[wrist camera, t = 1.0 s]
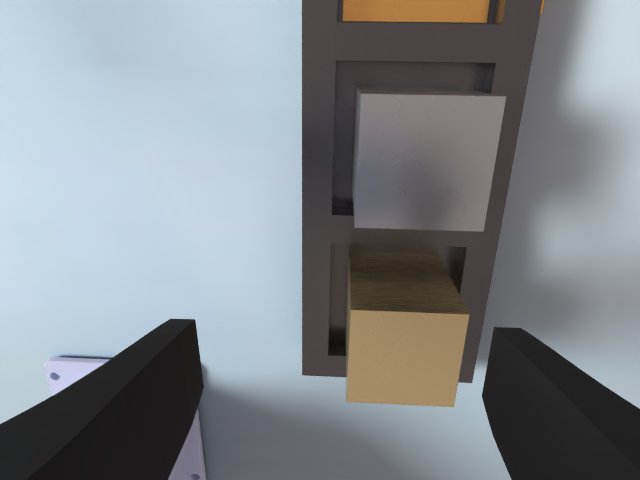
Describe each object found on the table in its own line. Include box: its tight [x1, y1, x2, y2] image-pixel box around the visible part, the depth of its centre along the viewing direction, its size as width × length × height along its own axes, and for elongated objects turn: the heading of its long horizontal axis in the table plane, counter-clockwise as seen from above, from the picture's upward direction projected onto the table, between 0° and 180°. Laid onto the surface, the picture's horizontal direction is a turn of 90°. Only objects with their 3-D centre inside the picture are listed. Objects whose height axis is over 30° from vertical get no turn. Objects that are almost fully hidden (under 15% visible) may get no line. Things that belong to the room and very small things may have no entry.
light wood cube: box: [346, 252, 469, 407], centre depth 18 cm, size 4×4×5 cm
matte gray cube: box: [352, 86, 506, 232], centre depth 15 cm, size 4×4×5 cm
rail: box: [302, 0, 545, 383], centre depth 17 cm, size 22×8×2 cm, turn 179°
